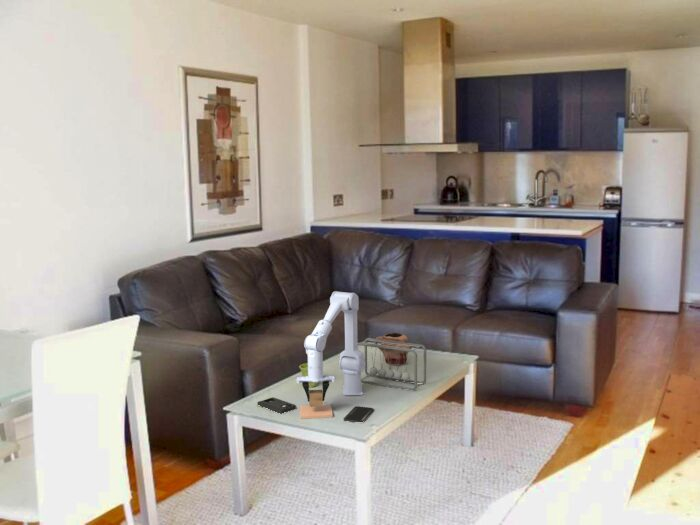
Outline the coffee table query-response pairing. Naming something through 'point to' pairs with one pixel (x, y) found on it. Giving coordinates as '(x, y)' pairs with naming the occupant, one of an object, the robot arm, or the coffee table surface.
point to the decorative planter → (395, 355)
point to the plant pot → (305, 373)
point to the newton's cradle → (390, 373)
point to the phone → (358, 414)
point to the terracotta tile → (316, 411)
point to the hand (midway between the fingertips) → (315, 400)
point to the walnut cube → (316, 398)
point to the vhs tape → (277, 405)
